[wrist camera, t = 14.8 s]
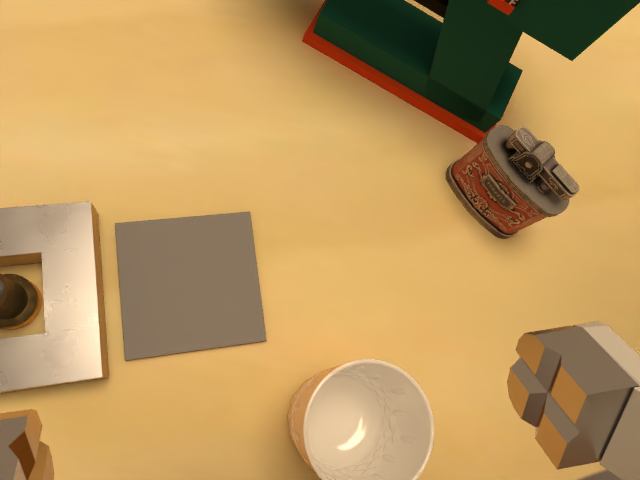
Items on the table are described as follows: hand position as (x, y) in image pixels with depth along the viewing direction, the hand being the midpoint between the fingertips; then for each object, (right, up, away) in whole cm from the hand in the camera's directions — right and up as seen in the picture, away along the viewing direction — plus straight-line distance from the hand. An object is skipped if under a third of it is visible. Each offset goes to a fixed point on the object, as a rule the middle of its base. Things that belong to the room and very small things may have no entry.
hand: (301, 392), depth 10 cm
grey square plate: (-9, -1, +33) cm, 34 cm away
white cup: (+1, -11, +33) cm, 35 cm away
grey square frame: (-21, -2, +30) cm, 37 cm away
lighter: (+14, +6, +40) cm, 43 cm away
